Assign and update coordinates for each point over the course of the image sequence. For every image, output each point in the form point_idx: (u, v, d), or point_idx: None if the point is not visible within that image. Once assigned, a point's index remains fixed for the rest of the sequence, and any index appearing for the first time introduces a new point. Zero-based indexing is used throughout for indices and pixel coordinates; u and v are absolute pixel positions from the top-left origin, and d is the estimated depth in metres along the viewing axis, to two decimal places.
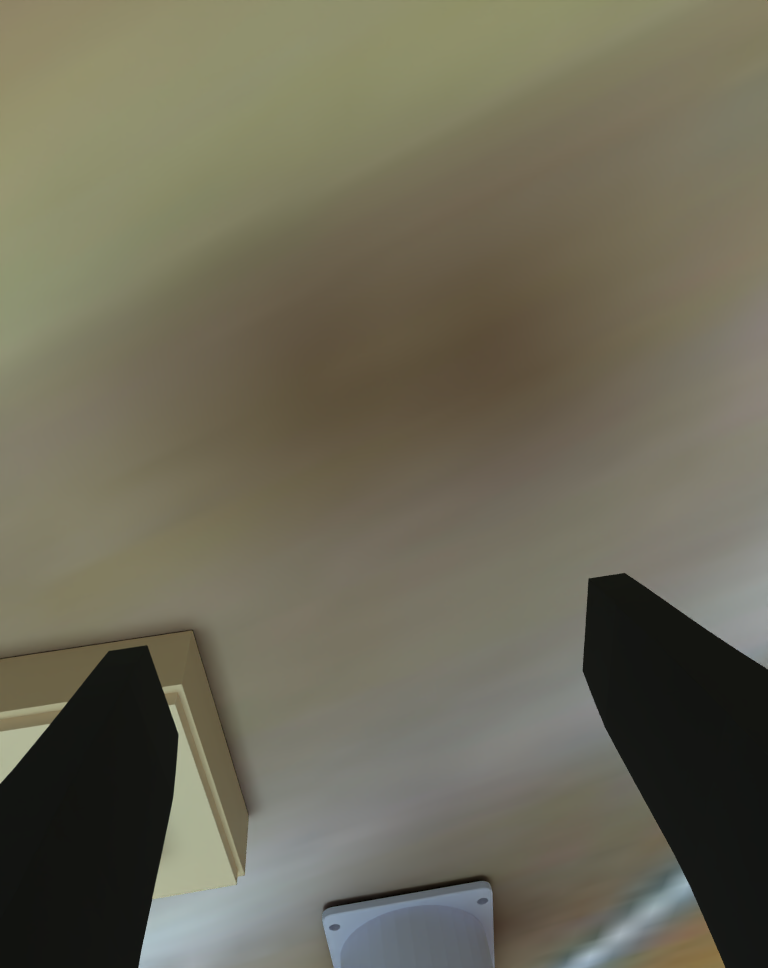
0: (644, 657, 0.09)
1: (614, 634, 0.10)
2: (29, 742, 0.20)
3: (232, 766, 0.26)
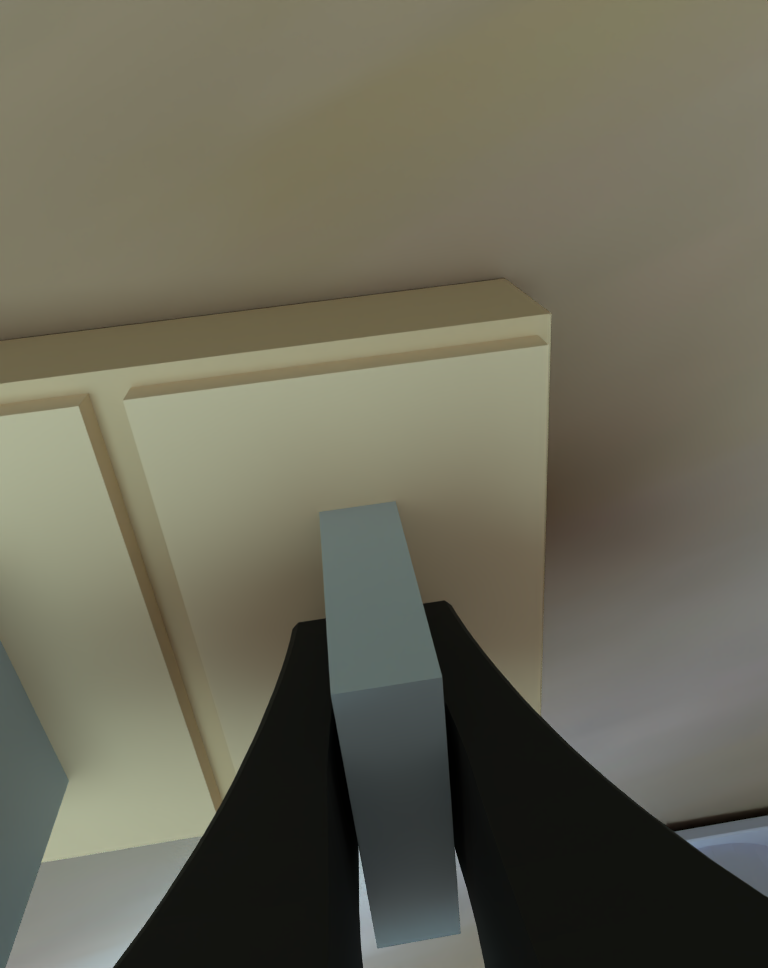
0: None
1: None
2: (237, 428, 0.10)
3: None
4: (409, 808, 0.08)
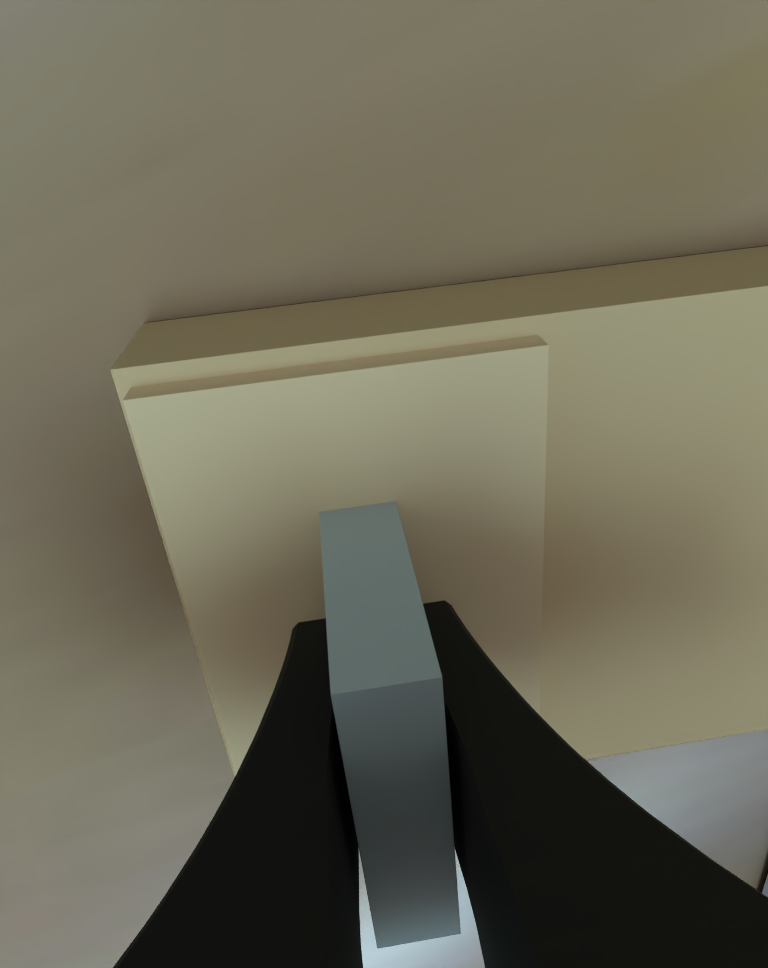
0: None
1: None
2: None
3: None
4: None
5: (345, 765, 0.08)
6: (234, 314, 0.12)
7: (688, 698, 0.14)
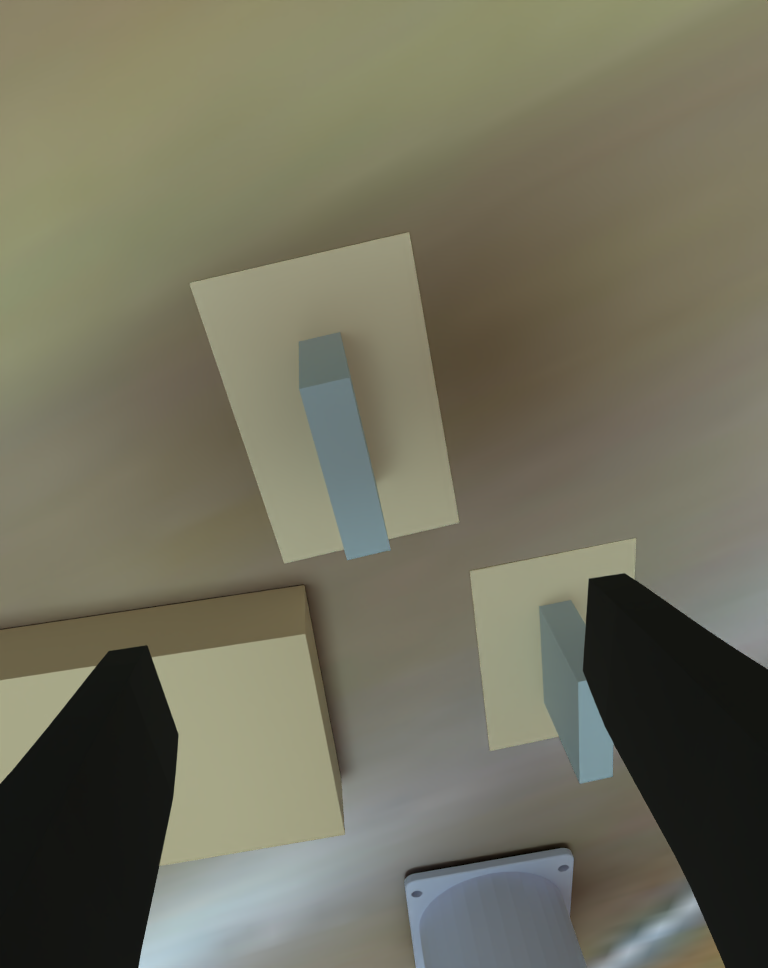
0: (644, 657, 0.09)
1: (614, 634, 0.10)
2: (510, 577, 0.24)
3: (330, 726, 0.26)
4: (598, 722, 0.22)
5: (312, 432, 0.16)
6: None
7: (248, 826, 0.25)
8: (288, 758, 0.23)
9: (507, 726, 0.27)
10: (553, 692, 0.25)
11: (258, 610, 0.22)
